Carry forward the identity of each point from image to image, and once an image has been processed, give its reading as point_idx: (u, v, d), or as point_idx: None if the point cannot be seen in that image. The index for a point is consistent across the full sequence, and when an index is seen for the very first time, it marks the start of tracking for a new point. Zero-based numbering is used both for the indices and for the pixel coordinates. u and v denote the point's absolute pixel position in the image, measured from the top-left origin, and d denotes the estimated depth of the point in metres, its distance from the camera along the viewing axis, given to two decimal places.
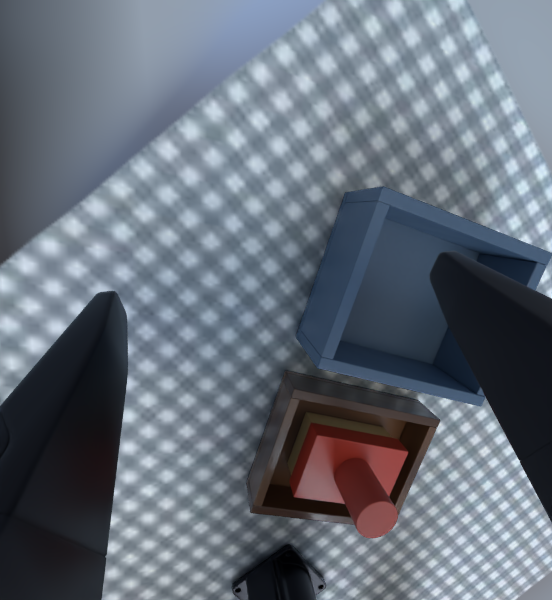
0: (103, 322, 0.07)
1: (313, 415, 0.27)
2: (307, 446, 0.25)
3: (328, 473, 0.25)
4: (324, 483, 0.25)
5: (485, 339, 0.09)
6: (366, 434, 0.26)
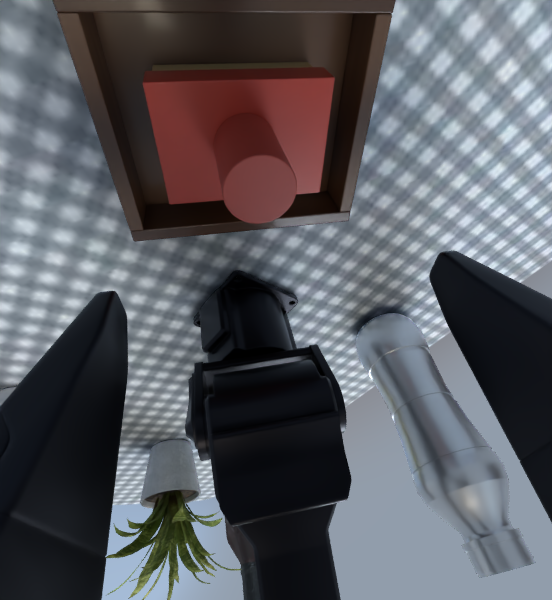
0: (103, 322, 0.07)
1: (164, 66, 0.15)
2: None
3: (203, 154, 0.15)
4: (206, 172, 0.16)
5: (485, 339, 0.09)
6: (256, 70, 0.14)
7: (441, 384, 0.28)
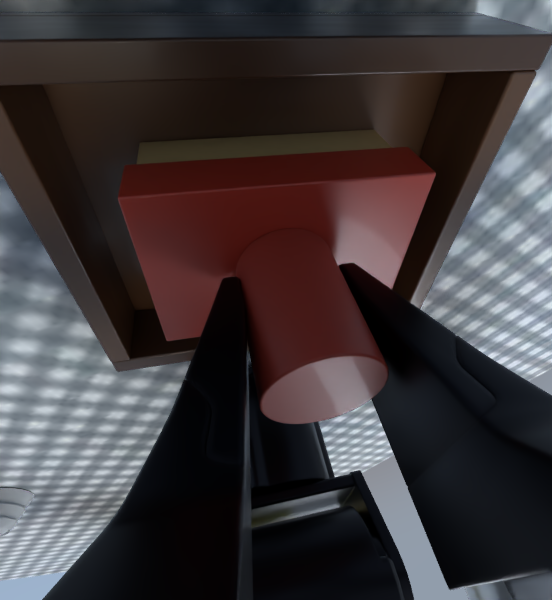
0: (242, 304, 0.08)
1: (158, 146, 0.10)
2: None
3: (219, 282, 0.10)
4: None
5: None
6: (306, 158, 0.09)
7: None
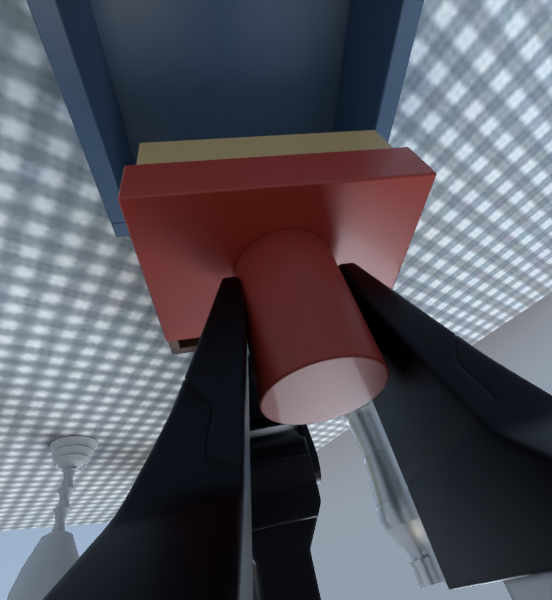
0: (243, 304, 0.08)
1: (158, 146, 0.10)
2: None
3: (219, 283, 0.10)
4: None
5: None
6: (306, 158, 0.09)
7: None
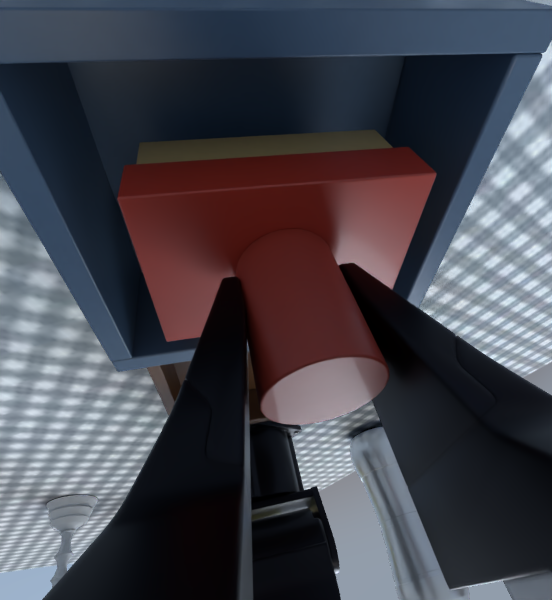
0: (243, 304, 0.08)
1: (157, 146, 0.10)
2: None
3: (219, 282, 0.10)
4: None
5: None
6: (306, 158, 0.09)
7: None
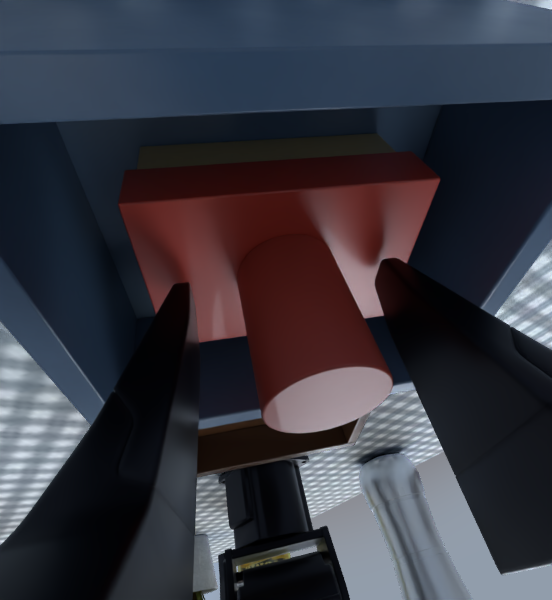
0: (188, 311, 0.08)
1: (158, 150, 0.10)
2: None
3: (220, 288, 0.10)
4: (223, 308, 0.10)
5: (422, 349, 0.09)
6: (308, 163, 0.09)
7: (434, 537, 0.32)
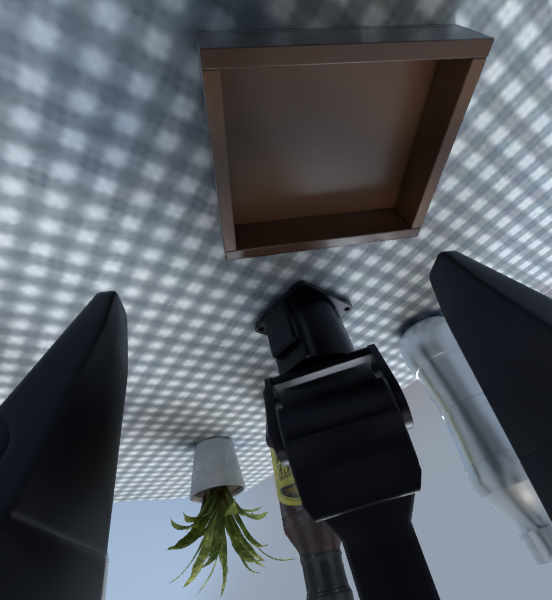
0: (103, 322, 0.07)
1: None
2: None
3: None
4: None
5: (485, 339, 0.09)
6: None
7: None
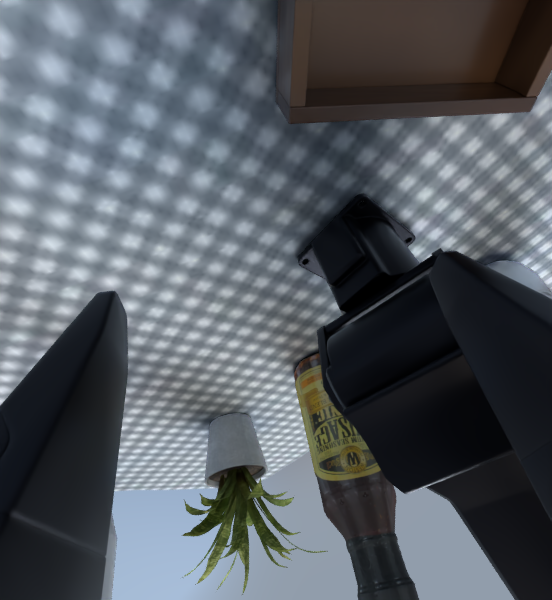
0: (103, 322, 0.07)
1: None
2: None
3: None
4: None
5: (485, 339, 0.09)
6: None
7: None
